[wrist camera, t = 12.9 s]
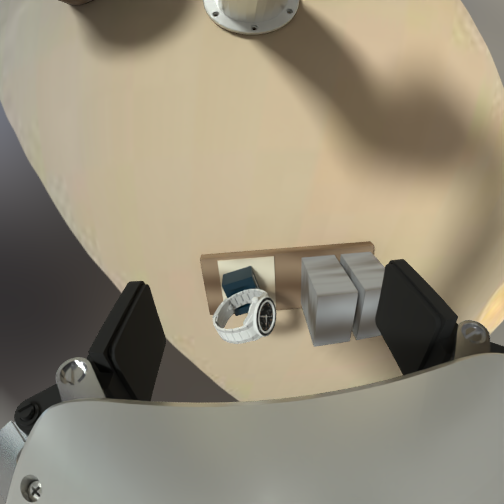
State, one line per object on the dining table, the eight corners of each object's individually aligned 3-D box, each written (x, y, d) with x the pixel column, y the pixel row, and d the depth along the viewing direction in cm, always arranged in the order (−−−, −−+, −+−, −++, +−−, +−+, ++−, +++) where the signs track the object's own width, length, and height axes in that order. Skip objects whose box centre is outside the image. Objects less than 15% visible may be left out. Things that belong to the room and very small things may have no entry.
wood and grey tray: (201, 254, 41) (188, 299, 30) (370, 241, 41) (405, 278, 30) (211, 309, 45) (204, 360, 35) (363, 294, 45) (389, 338, 35)
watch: (275, 291, 42) (284, 341, 32) (225, 306, 43) (222, 357, 33) (263, 260, 40) (271, 307, 30) (211, 277, 40) (203, 326, 30)
